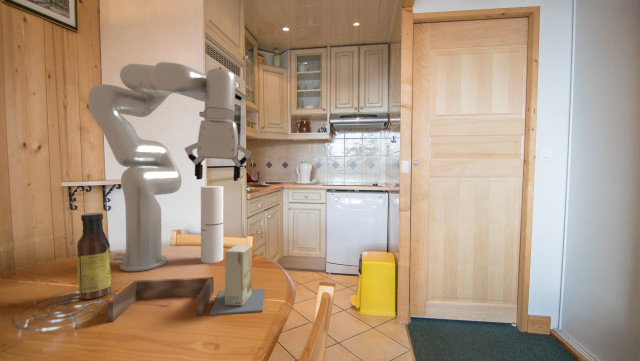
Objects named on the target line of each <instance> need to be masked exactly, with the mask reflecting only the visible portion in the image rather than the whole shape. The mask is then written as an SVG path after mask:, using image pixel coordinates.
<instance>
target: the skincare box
mask: <svg viewBox="0 0 640 361" xmlns="http://www.w3.org/2000/svg"><path fill="white" fill-rule="evenodd" d="M224 254H225V256H224V258H225V259H224V261H225V264H224V265H225V266H224V272H225V273H224V278H225V279H224V291H225V305H240V306H243V305H244V303H245V302H246V301H247V300H248V299H249V297H250V296H251V294H252V289H253V288H252V287H253V285H252V284H253V283H252V281H253V280H252V279H253V278H252V274H253V273H252V272H253V246H252V245H244V244H243V245H242V244H236V245H234V246H232V247H230V248H229V249H227V250H225V253H224Z"/></svg>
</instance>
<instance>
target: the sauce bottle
mask: <svg viewBox="0 0 640 361" xmlns="http://www.w3.org/2000/svg"><path fill="white" fill-rule="evenodd" d="M80 219H81V222H82V235H81V237H80V238H79V239H78V241H77V245H76V249H77V250H76V251H77V255H76V258H77V259H76V261H77V262H76V263H77V279H78V280H77V282H78V283H77V284H78V293H79V297H80V299H82V300H94V299H95V300H96V299H99V298H101V297H104V296H106V295H109V293H111V291H112V284H113V281H112V264H111V261H112V260H111V244H110V242H109V240H108V238H107V236H106V234H105V232H104V228H103V227H104V226H103V219H104V214H103V212H89V213H83V214H81V216H80Z"/></svg>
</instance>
